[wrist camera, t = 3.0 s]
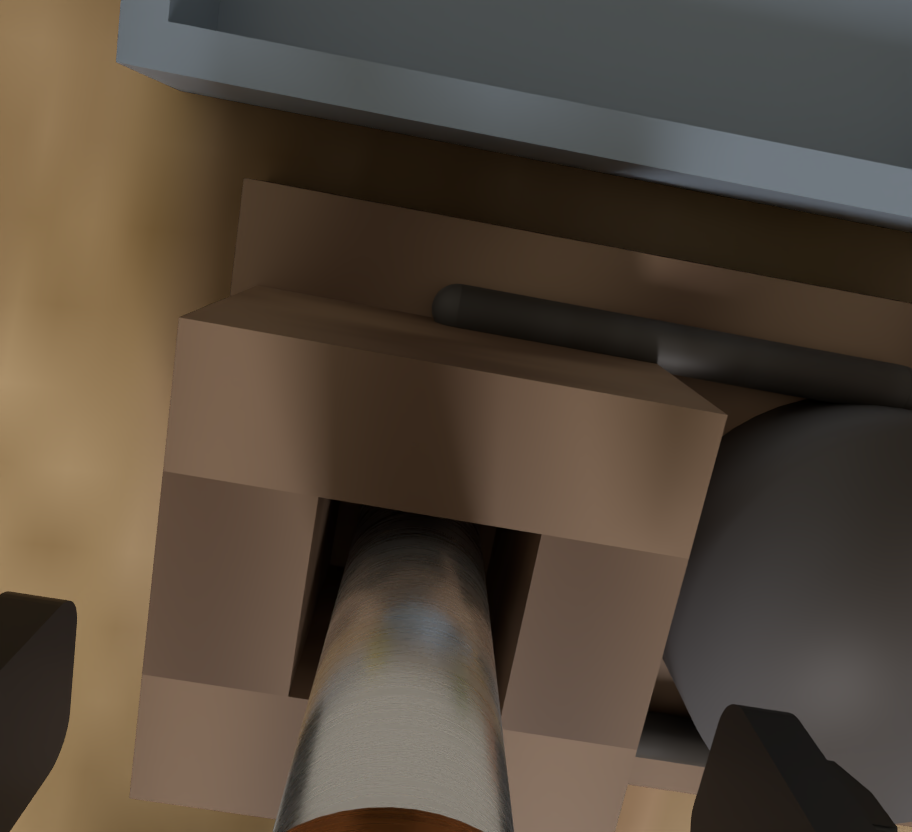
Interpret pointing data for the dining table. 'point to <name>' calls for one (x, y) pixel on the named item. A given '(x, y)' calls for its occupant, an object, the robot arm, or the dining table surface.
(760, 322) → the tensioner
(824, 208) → the tray
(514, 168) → the dining table surface
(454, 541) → the lock pin
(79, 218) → the dining table surface
